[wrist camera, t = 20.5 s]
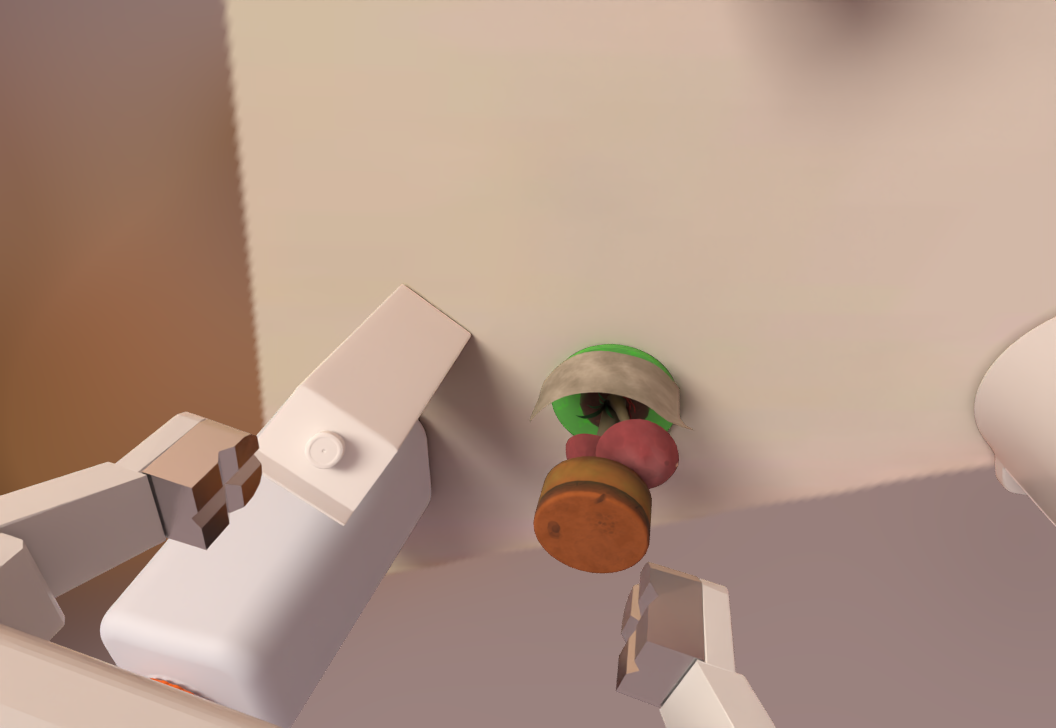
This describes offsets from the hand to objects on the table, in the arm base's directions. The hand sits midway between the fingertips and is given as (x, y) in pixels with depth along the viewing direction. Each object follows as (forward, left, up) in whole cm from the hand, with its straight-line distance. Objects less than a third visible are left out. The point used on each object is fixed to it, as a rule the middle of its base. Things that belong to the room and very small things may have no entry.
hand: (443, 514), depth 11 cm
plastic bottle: (+17, +34, -31) cm, 49 cm away
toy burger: (-6, +18, -31) cm, 37 cm away
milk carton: (+12, +18, -31) cm, 38 cm away
